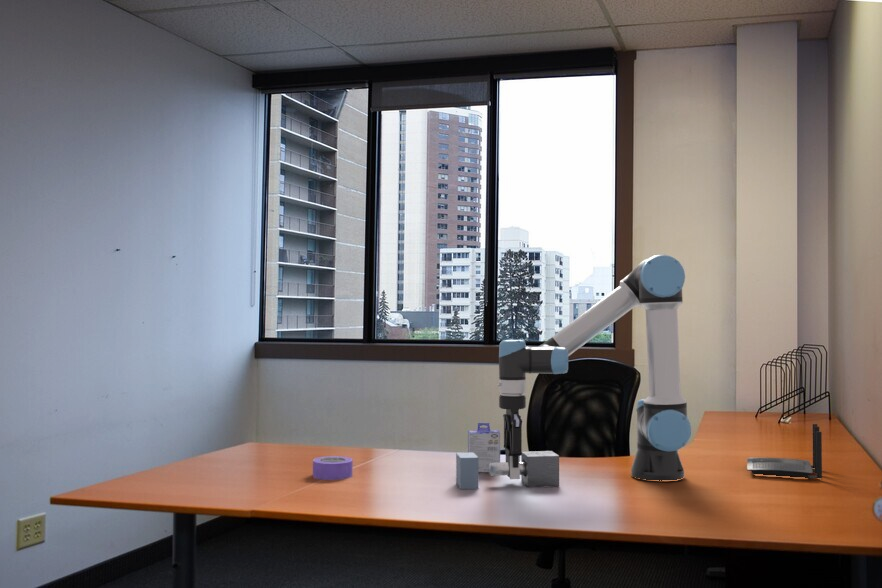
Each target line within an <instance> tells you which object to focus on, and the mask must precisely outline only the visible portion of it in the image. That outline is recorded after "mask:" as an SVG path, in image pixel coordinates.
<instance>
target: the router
mask: <svg viewBox="0 0 882 588" xmlns="http://www.w3.org/2000/svg"><path fill="white" fill-rule="evenodd" d="M822 435H823V434H822V431H820V426H818V423H812V464H811V462H810V461H809V460H806V459H798V458H797V459H796V458H783V457H782V458H781V457H780V458H779V457H747V459H746V460H747V461H746V471H750V472H751V474H752V475H753V474H763V475H776V476H790V477H805V478H809V479H814V478H822V479H823V458H822V457H823V456H822V455H823V453H822V451H823V450H822V449H823V448H822V447H823V444H822V443H823V442H822V441H823V440H822V439H823V438H822V437H823V436H822ZM813 468H815V469H813ZM813 473H814V474H816V475H813Z"/></svg>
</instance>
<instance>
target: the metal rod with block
mask: <svg viewBox="0 0 882 588" xmlns="http://www.w3.org/2000/svg"><path fill="white" fill-rule="evenodd" d="M508 454H511V449H510V448H506V451H505V462H504V461H503V462H502V461H500V462H497V463H489V472H488V474H489V476H490V477H491V476H492V477H493V476H507V477H508V478H509V479H510V456H508ZM521 475H526V462H521V461H520V476H521Z"/></svg>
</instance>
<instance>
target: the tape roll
mask: <svg viewBox="0 0 882 588" xmlns="http://www.w3.org/2000/svg"><path fill="white" fill-rule="evenodd" d="M353 466H354V465H353V458H352V457H348V456H340V455H339V456H337V455H336V456H335V455H331V456H328V455H327V456H321V457H316V458H314V459H312V477H313V479H317V480H322V481H323V480H324V481H338V480H345V479H350V478H352V477H353V469H354V468H353Z"/></svg>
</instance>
